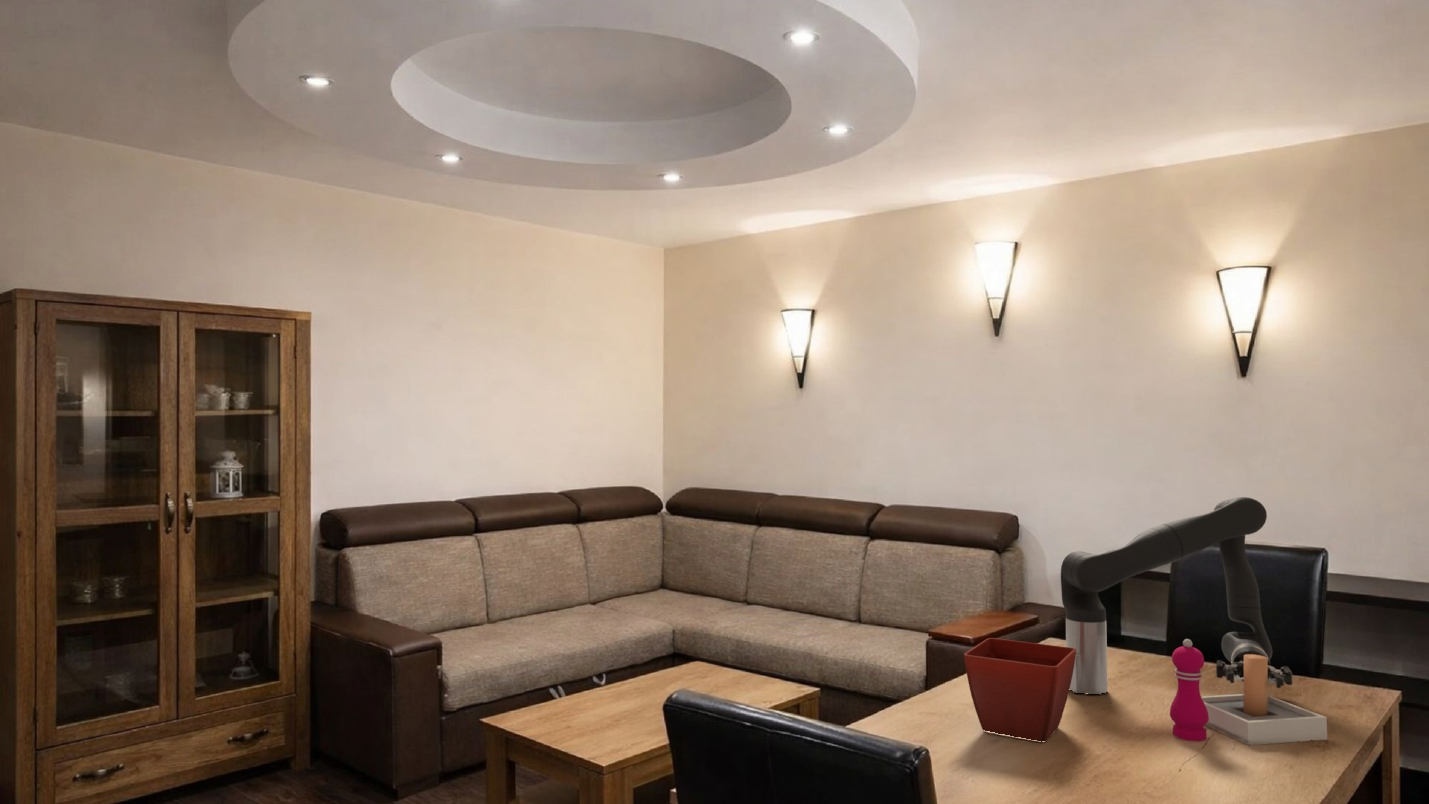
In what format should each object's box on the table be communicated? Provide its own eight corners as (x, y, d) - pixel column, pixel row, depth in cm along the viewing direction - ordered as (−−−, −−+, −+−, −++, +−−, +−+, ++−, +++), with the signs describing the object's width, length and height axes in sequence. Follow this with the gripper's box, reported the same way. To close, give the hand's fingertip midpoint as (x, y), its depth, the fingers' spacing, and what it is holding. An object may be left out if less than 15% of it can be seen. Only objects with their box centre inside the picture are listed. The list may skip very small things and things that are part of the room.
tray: (1248, 745, 190) (1247, 722, 190) (1189, 717, 208) (1188, 697, 208) (1327, 739, 193) (1326, 717, 193) (1262, 713, 211) (1261, 692, 211)
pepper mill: (1206, 732, 198) (1204, 636, 199) (1212, 743, 191) (1209, 644, 192) (1168, 729, 201) (1166, 634, 201) (1172, 740, 194) (1170, 641, 194)
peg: (1253, 727, 198) (1253, 660, 198) (1238, 720, 203) (1238, 654, 203) (1272, 726, 199) (1272, 659, 199) (1257, 719, 203) (1257, 654, 203)
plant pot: (1078, 725, 203) (1077, 647, 204) (1058, 752, 187) (1056, 666, 188) (989, 712, 214) (988, 636, 214) (963, 735, 198) (962, 654, 198)
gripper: (1214, 643, 217) (1216, 659, 203) (1286, 649, 211) (1294, 666, 196) (1215, 676, 217) (1217, 694, 202) (1287, 683, 210) (1295, 702, 196)
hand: (1255, 680), depth 199 cm, fingers open, 8 cm apart
